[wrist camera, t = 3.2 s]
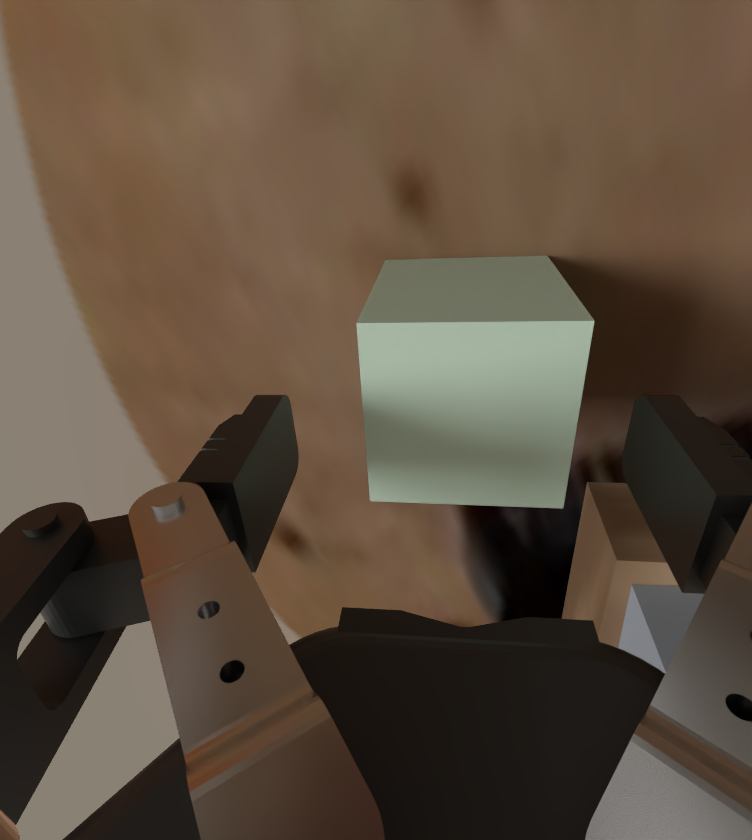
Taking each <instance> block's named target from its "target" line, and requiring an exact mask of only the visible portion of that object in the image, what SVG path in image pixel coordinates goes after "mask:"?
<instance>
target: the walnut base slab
mask: <svg viewBox="0 0 752 840" xmlns="http://www.w3.org/2000/svg"><path fill="white" fill-rule="evenodd" d="M631 585H668V586H678V584H677V582H676V580H675V578H674V576H673V574H672V572H671V570H670V568H669V566H668V564H667V562H666V560H665V558H664V556H663V554H662V552H661V550H660V548H659V546H658V544H657V542H656V540H655V538H654V536H653V534H652V532H651V530H650V529H649V527H648V525H647V523H646V521H645V519H644V517H643V515H642V513H641V511H640V509H639V507H638V505H637V503H636V501H635V499H634V497H633V495H632V493H631V491H630V489H629V487H628V485H627V483H598V482H587V486H586V492H585V497H584V502H583V508H582V513H581V518H580V524H579V529H578V534H577V540H576V545H575V550H574V556H573V561H572V566H571V572H570V577H569V582H568V588H567V593H566V598H565V604H564V609H563V614H562V619H574V620H593V622H594V625H595V629H596V632H597V635H598V639H599V642H602V643H605V644H608V645H611V646H614V647H616V648H618V646H619V642H620V637H621V632H622V628H623V623H624V618H625V614H626V609H627V604H628V599H629V595H630V590H631Z"/></svg>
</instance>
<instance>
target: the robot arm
mask: <svg viewBox="0 0 752 840" xmlns="http://www.w3.org/2000/svg"><path fill="white" fill-rule="evenodd" d="M738 445H739V444H738V443H737V442H736V441H735V440H734V439H733V438H732V437H731V435H730V434H729V433H728V432H727V431H726V430H725V429H723V428H721V427H720V426H718V425H716V424H715V423H713V422H711V421H709V420H708V419H706V418H704V417H697V416H696V415H695V414H694V413H693V412H692V411H691V410H690V408H689V407H688V406H687V405H686V404H685V403H684V401H683V400H682V399H681V398H680V397H679V396H677V395H640V396H639V397H638V398H637V399H636V401H635V403H634V407H633V411H632V416H631V420H630V425H629V429H628V434H627V438H626V443H625V447H624V452H623V459H622V467H623V475H624V478H625V481H626V483H627V485H628V487H629V489H630V491H631V493H632V495H633V497H634V499H635V501H636V503H637V505H638V507H639V509H640V511H641V513H642V515H643V517H644V519H645V521H646V523H647V525H648V527H649V529H650V530H651V532H652V534H653V536H654V538H655V540H656V542H657V544H658V546H659V548H660V550H661V552H662V554H663V556H664V558H665V560H666V562H667V564H668V566H669V568H670V570H671V572H672V574H673V576H674V578H675V580H676V582H677V584H678V586H679V588H680V590H681V592H682V593H697V594H704V596H703V598H702V600H701V602H700V604H699V606H698V608H697V610H696V612H695V614H694V616H693V618H692V620H691V622H690V624H689V626H688V629H687V631H686V633H685V635H684V637H683V639H682V641H681V643H680V645H679V647H678V649H677V651H676V653H675V655H674V657H673V659H672V661H671V663H670V665H669V667H668V669H667V671H666V673H663V672H662V671H661V670H659V669H658V668H656V667H654V666H653V665H651V664H649V663H648V662H646V661H644V660H643V659H641V658H639V657H637V656H635V655H633V654H630V653H628V652H626V651H624V650H622V649H619V648H616V647H614V646H611V645H608V644H605V643H602V642H599V639H598V635H597V632H596V629H595V625H594V622H593V620H574V619H555V618H536V617H526V618H520V619H515V620H509V621H503V622H497V623H491V624H486V625H480V626H474V627H459V626H455V625H451V624H448V623H444V622H441V621H437V620H433V619H430V618H426V617H423V616H419V615H416V614H412V613H408V612H405V611H401V610H383V609H364V608H345V607H342V611H341V616H340V621H339V626H338V627H334V628H329V629H325V630H322V631H319V632H315V633H313V634H311V635H308V636H306V637H303V638H301V639H299V640H297V641H296V642H294V643H292V644H290V645H289V644H288V642H287V640H286V639H285V636H284V635H283V633H282V631H281V629H280V627H279V625H278V623H277V621H276V619H275V617H274V615H273V613H272V611H271V609H270V607H269V605H268V603H267V601H266V599H265V598H264V596H263V594H262V592H261V590H260V588H259V586H258V584H257V582H256V580H255V578H254V576H253V574H252V572H256V570H257V567H258V565H259V562H260V560H261V558H262V555H263V553H264V550H265V548H266V546H267V543H268V541H269V538H270V536H271V533H272V531H273V529H274V526H275V524H276V521H277V519H278V516H279V514H280V512H281V509H282V507H283V504H284V502H285V500H286V497H287V495H288V492H289V490H290V487H291V485H292V483H293V480H294V478H295V475H296V472H297V468H298V446H297V440H296V434H295V428H294V422H293V416H292V410H291V404H290V400H289V398H288V396H287V395H256V396H254V398H253V399H252V401H251V402H250V404H249V405H248V406H247V408H246V409H245V411H244V412H243V414H242V415H233V416H232V417H230V418H229V419H228V420H226V421H225V422H223V423H222V424H220V425H219V426H218V427H217V428H216V430H215V431H214V433H213V434H212V435H211V437H210V440H209V441H207V442H206V443H205V445H204V446H203V448H202V451H200V452H199V453H198V454H197V456H196V457H195V459H194V460H193V461H192V463H191V464H190V465H189V467H188V468H187V469H186V471H185V472H184V474H183V475H182V476H181V478H180V479H179V480H178V482H175V483H169V484H165V485H162V486H159V487H156V488H154V489H152V490H150V491H148V492H146V493H145V494H143V495H142V496H141V497H139V498H138V499H137V500H136V501H135V502H134V503H133V505H132V506H131V508H130V510H129V514H127V515H123V516H117V517H112V518H107V519H101V520H96V521H91V522H89V521H88V519H87V516H86V514H85V512H84V510H83V508H82V507H81V506H79V505H77V504H75V503H70V502H61V503H54V504H49V505H45V506H42V507H39V508H36V509H35V510H32V511H30V512H28V513H26V514H24V515H22V516H21V517H19V518H17V519H16V520H15V521H14V522H12V523H11V524H10V525H9V526H8V527H6V528H5V529H4V531H2V532H1V534H0V840H20V835H19V832H18V829H17V827H16V824H17V822H18V820H19V819H20V817H21V815H22V813H23V811H24V810H25V808H26V806H27V804H28V802H29V801H30V799H31V797H32V795H33V793H34V792H35V790H36V788H37V786H38V784H39V783H40V781H41V779H42V777H43V775H44V773H45V772H46V770H47V768H48V766H49V764H50V763H51V761H52V759H53V757H54V755H55V754H56V752H57V750H58V748H59V746H60V745H61V743H62V741H63V739H64V737H65V736H66V734H67V732H68V730H69V728H70V727H71V724H72V723H73V721H74V719H75V718H76V716H77V714H78V712H79V710H80V709H81V707H82V705H83V703H84V701H85V700H86V698H87V696H88V694H89V692H90V691H91V689H92V687H93V685H94V683H95V682H96V680H97V678H98V676H99V674H100V672H101V671H102V669H103V667H104V665H105V663H106V662H107V660H108V658H109V656H110V655H111V653H112V651H113V649H114V647H115V646H116V644H117V642H118V640H119V638H120V636H121V635H122V633H123V631H124V629H125V628H126V626H128V625H133V624H136V623H141V622H145V621H151V624H152V629H153V633H154V637H155V641H156V644H157V649H158V653H159V657H160V661H161V665H162V669H163V673H164V677H165V681H166V685H167V689H168V693H169V697H170V701H171V705H172V709H173V713H174V717H175V721H176V725H177V729H178V733H179V737H180V738H179V739H177V740H176V741H175V742H174V743H173V744H172V745H171V746H170V747H168V748H167V749H166V750H165V751H164V752H163V753H162V754H160V755H159V756H158V757H157V758H156V759H155V760H153V761H152V762H151V763H150V764H149V765H148V766H147V767H145V768H144V769H143V770H142V771H141V772H140V773H139V774H137V775H136V776H135V777H134V778H133V779H132V780H130V781H129V782H128V783H127V784H126V785H125V786H124V787H122V788H121V789H120V790H119V791H118V792H117V793H116V794H114V795H113V796H112V797H111V798H110V799H109V800H108V801H106V802H105V803H104V804H103V805H102V806H101V807H100V808H98V809H97V810H96V811H95V812H94V813H93V814H91V815H90V816H89V817H88V818H87V819H86V820H85V821H83V822H82V824H80V825H79V826H78V827H77V828H75V829H74V830H73V831H72V832H71V833H70V834H69V835H68V836H66V837H65V838H64V839H63V840H752V459H750V458H749V457H750V456H749V455H748V454H747V453H746V452H745V451H744V450H743V449H742V447H738ZM39 613H41V615H42V616H43V618H44V620H45V622H44V624H43V625H42V627H41V628H40V629H39V631H38V632H37V633H36V635H35V636H34V638H33V639H32V640H31V642H30V643H29V644H28V646H27V647H26V649H25V650H24V651H23V653H22V654H21V656H20V657H19V658H18V660H17V651H18V647H19V643H20V641H21V639H22V637H23V635H24V634H25V632H26V631H27V630H28V628H29V627H30V625H31V624H32V623H33V621H34V620H35V619H36V617H37V616H38V615H39Z"/></svg>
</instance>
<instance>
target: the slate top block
mask: <svg viewBox="0 0 752 840" xmlns="http://www.w3.org/2000/svg"><path fill="white" fill-rule="evenodd" d="M703 596H704V594H697V593H682V592H681V590H680V588H679V586H668V585H631V590H630V595H629V599H628V604H627V609H626V614H625V618H624V623H623V628H622V632H621V637H620V642H619V646H618V648H619V649H622V650H624V651H626V652H628V653H630V654H633V655H635V656H637V657H639V658H641V659H643V660H644V661H646V662H648V663H649V664H651V665H653V666H654V667H656V668H658V669H659V670H661V671H662V672H663V673H666V671H667V669H668V667H669V665H670V663H671V661H672V659H673V657H674V655H675V653H676V651H677V649H678V647H679V645H680V643H681V641H682V639H683V637H684V635H685V633H686V631H687V629H688V626H689V624H690V622H691V620H692V618H693V616H694V614H695V612H696V610H697V608H698V606H699V604H700V602H701V600H702V598H703Z"/></svg>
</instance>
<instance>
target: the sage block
mask: <svg viewBox="0 0 752 840" xmlns="http://www.w3.org/2000/svg"><path fill="white" fill-rule="evenodd" d="M593 327H594V319H593V318H592V317H591V315H590V314H589V312H588V311H587V310H586V308H585V307H584V306H583V304H582V303H581V301H580V300H579V299H578V297H577V296H576V294H575V293H574V292H573V290H572V289H571V288H570V286H569V285H568V283H567V282H566V281H565V279H564V278H563V277H562V275H561V274H560V272H559V271H558V270H557V268H556V267H555V265H554V264H553V263H552V261H551V260H550V259H549V257H548V256H513V257H475V258H437V259H400V260H385V262H384V265H383V267H382V269H381V271H380V273H379V275H378V278H377V280H376V282H375V284H374V286H373V288H372V291H371V293H370V295H369V297H368V299H367V301H366V304H365V306H364V308H363V310H362V312H361V315H360V317H359V319H358V321H357V336H358V349H359V362H360V375H361V388H362V401H363V414H364V427H365V441H366V454H367V467H368V480H369V493H370V501H381V502H407V503H434V504H460V505H487V506H513V507H540V508H563V506H564V500H565V494H566V488H567V482H568V476H569V470H570V464H571V458H572V452H573V446H574V440H575V434H576V429H577V423H578V417H579V411H580V405H581V399H582V393H583V387H584V381H585V375H586V369H587V363H588V357H589V351H590V345H591V339H592V333H593Z"/></svg>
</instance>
